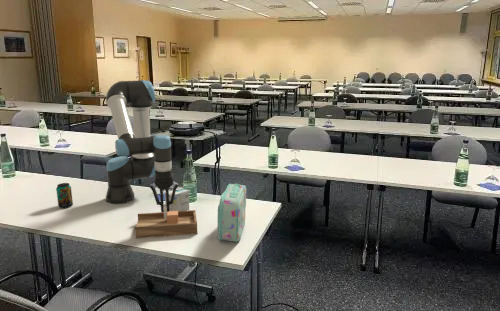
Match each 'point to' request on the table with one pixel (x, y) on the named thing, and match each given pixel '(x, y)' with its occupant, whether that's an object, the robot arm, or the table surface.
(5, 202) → the table surface
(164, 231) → the box
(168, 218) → the block
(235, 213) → the lunch box
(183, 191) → the light bulb box
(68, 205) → the beverage can
